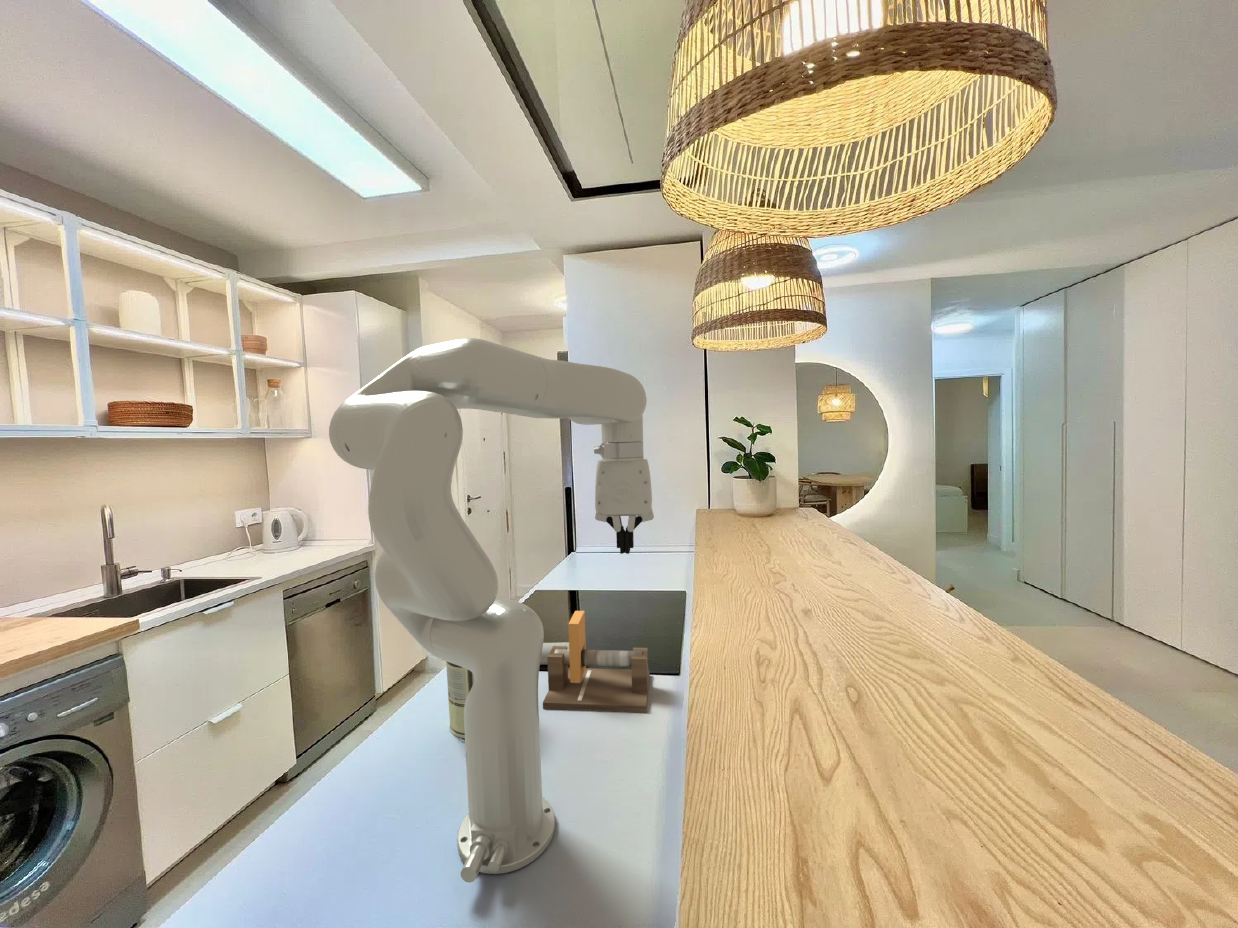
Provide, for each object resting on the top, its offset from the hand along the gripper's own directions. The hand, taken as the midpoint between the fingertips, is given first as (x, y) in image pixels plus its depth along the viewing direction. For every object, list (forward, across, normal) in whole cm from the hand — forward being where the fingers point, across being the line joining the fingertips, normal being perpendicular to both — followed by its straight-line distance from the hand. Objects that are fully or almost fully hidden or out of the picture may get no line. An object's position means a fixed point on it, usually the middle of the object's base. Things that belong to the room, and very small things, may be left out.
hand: (625, 551), depth 89 cm
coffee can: (+31, -28, -4) cm, 42 cm away
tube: (+32, -25, +19) cm, 44 cm away
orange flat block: (+28, -11, +8) cm, 31 cm away
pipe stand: (+31, -7, +8) cm, 33 cm away
